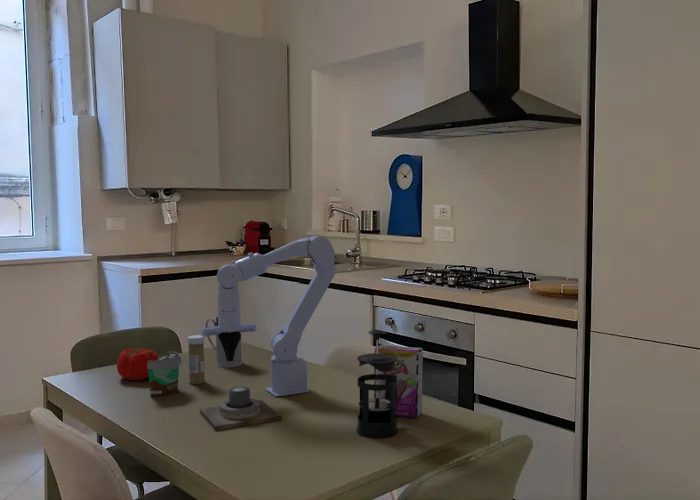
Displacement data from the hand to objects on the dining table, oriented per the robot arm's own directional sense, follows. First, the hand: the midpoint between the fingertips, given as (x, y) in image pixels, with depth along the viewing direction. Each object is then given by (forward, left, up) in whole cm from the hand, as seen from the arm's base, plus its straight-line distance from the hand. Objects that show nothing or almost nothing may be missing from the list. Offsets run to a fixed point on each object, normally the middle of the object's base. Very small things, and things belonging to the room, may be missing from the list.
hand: (229, 360), depth 176 cm
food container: (+14, -10, -10) cm, 20 cm away
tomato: (+19, -29, -10) cm, 36 cm away
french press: (-22, +42, -10) cm, 48 cm away
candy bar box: (-32, +34, -10) cm, 48 cm away
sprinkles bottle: (+5, -16, -10) cm, 19 cm away
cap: (+3, +18, -8) cm, 20 cm away
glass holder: (-8, -35, -10) cm, 37 cm away
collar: (+3, +18, -9) cm, 21 cm away
